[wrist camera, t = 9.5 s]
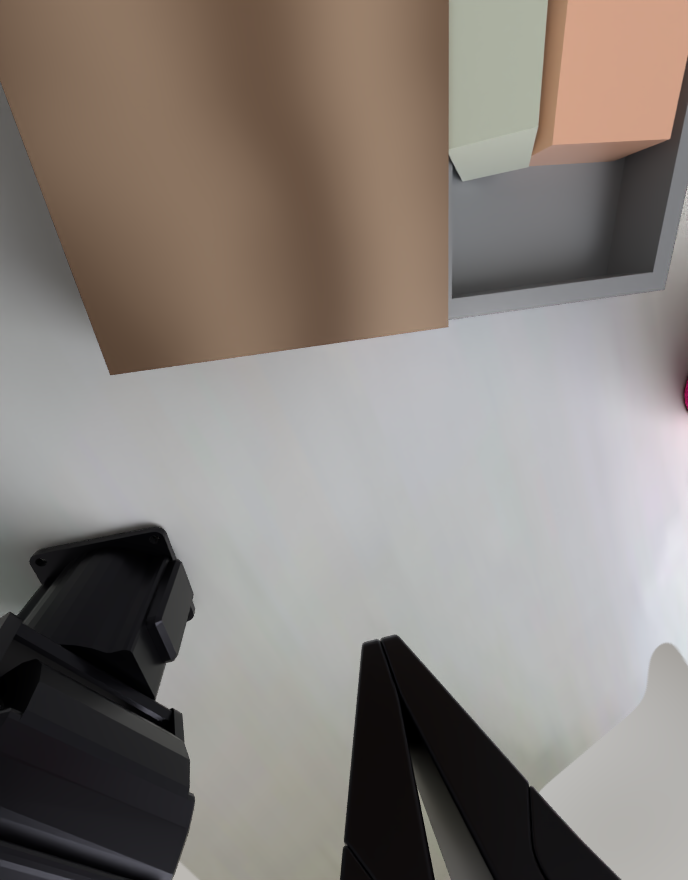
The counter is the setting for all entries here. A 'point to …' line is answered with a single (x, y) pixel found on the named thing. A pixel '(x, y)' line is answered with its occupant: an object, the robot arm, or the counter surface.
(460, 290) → the box
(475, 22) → the tile sage
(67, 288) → the counter surface
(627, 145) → the tile terracotta
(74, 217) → the brown wooden block
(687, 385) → the pepper mill
